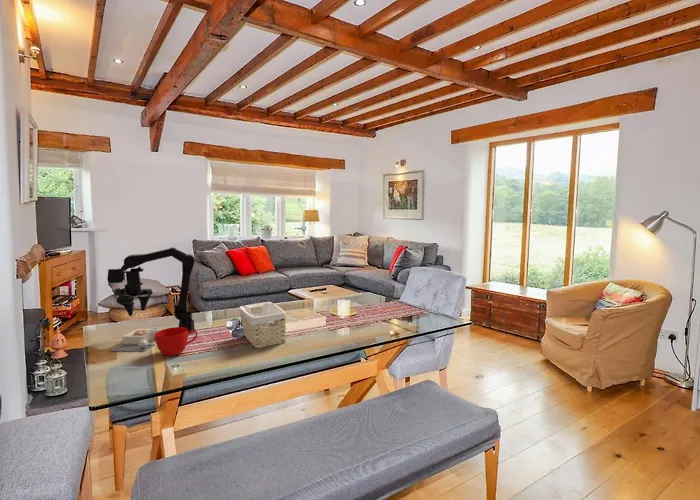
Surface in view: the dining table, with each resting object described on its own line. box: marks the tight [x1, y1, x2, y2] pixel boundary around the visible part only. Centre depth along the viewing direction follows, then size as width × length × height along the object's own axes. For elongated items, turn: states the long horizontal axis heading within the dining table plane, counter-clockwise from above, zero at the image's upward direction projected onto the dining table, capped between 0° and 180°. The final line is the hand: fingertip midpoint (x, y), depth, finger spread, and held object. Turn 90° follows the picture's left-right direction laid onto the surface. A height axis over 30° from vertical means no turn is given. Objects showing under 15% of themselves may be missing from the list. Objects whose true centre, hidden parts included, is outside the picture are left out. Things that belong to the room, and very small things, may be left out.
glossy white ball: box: [138, 339, 149, 349], centre depth 185 cm, size 4×4×4 cm
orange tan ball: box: [134, 330, 143, 336], centre depth 198 cm, size 4×4×4 cm
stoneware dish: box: [121, 328, 159, 344], centre depth 197 cm, size 11×11×4 cm
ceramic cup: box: [154, 326, 198, 357], centre depth 178 cm, size 13×17×10 cm
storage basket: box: [238, 301, 287, 349], centre depth 190 cm, size 24×16×15 cm
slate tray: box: [111, 343, 156, 353], centre depth 186 cm, size 16×8×1 cm, turn 82°
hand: (137, 313), depth 198 cm, fingers open, 9 cm apart
